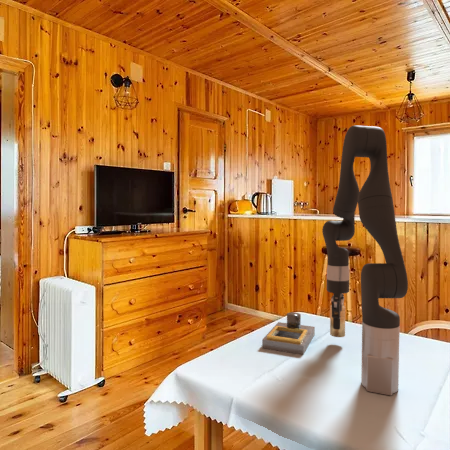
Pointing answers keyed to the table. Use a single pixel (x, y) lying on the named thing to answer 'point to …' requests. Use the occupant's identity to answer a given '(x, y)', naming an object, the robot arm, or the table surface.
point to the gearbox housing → (289, 335)
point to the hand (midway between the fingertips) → (337, 326)
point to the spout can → (342, 324)
